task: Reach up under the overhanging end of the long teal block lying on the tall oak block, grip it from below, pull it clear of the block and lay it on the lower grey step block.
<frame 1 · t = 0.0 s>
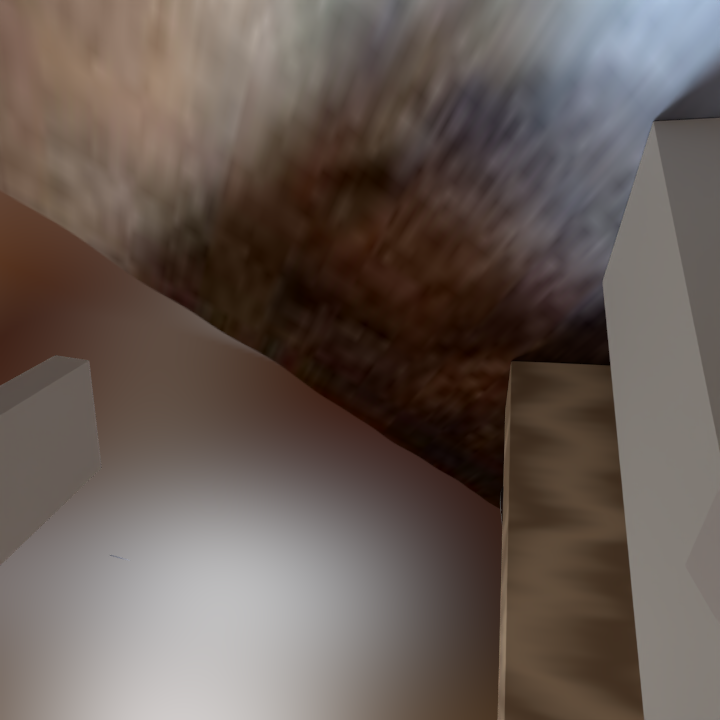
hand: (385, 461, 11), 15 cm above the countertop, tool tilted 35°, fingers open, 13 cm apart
oak block: (614, 393, 36), on the countertop
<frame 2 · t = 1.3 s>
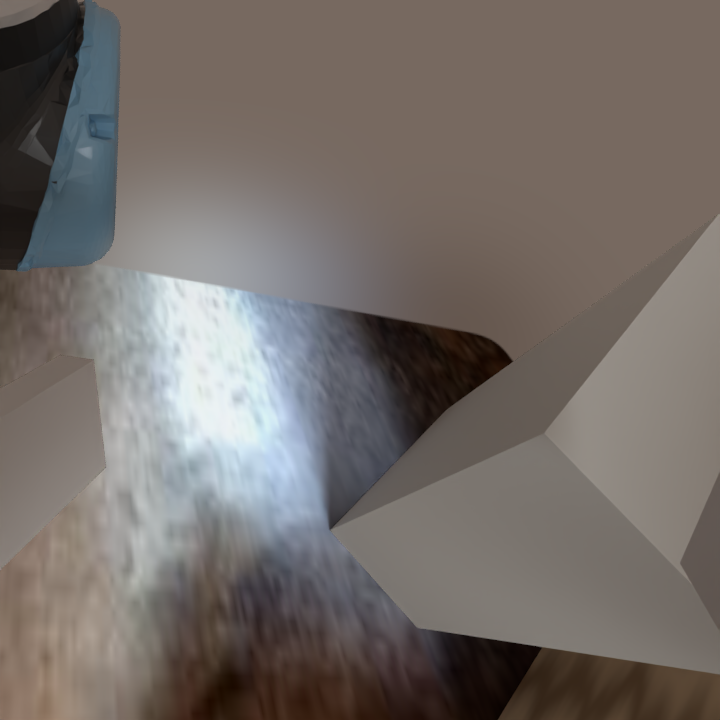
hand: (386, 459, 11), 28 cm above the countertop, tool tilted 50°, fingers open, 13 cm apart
step block: (433, 508, 40), on the countertop
oak block: (557, 719, 37), on the countertop
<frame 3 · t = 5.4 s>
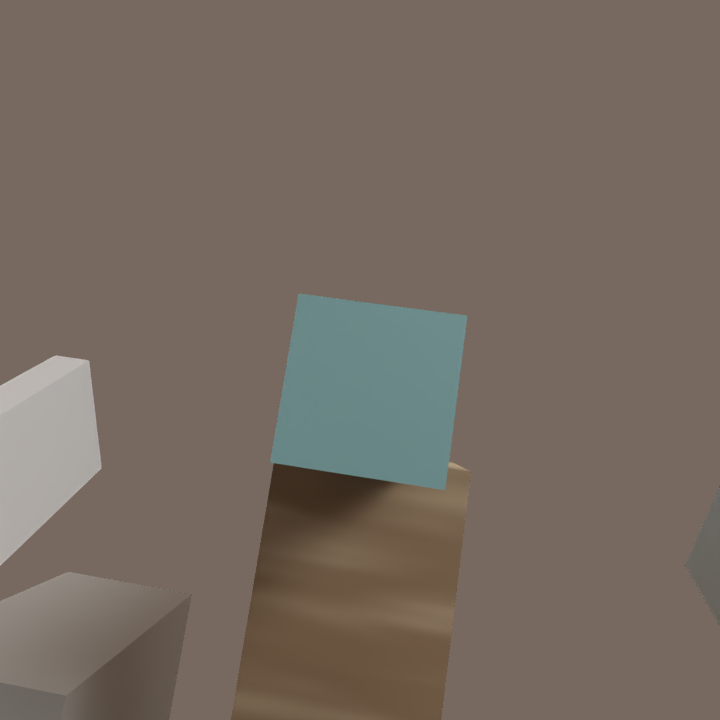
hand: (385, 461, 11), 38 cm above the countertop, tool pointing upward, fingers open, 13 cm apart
teal block: (375, 452, 22), point 38 cm above the countertop, touching oak block
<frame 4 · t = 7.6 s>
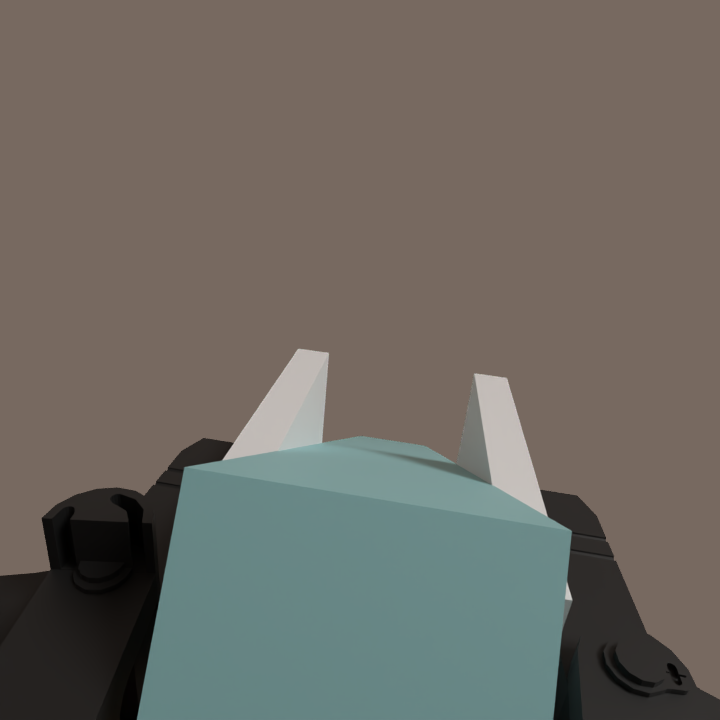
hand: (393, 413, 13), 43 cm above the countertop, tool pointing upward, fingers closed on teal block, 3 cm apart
teal block: (373, 562, 16), point 38 cm above the countertop, touching gripper, oak block
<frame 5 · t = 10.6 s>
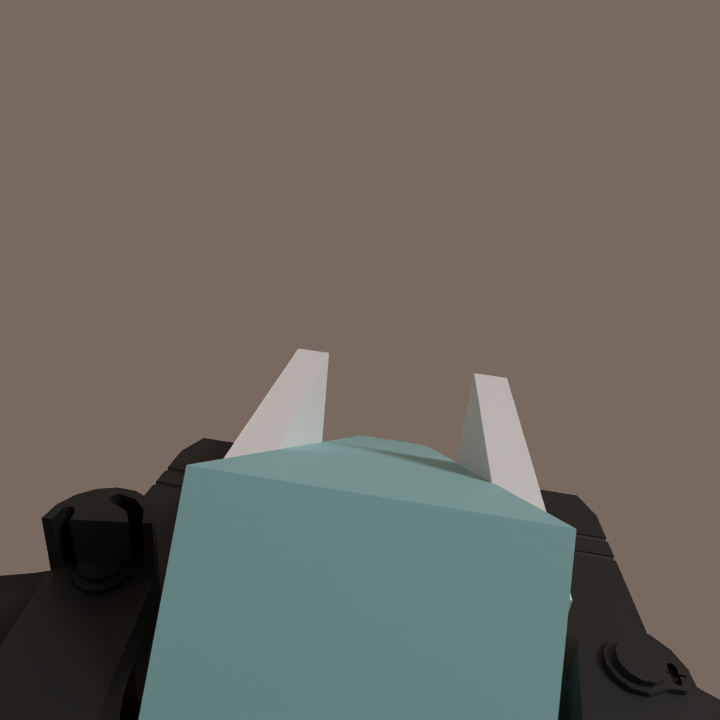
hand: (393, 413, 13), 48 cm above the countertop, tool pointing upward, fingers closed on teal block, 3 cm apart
teal block: (374, 562, 16), point 43 cm above the countertop, touching gripper
when the fingers open (32 cm above the countertop, at t = 13.5 s): teal block drops 2 cm, resting on step block.
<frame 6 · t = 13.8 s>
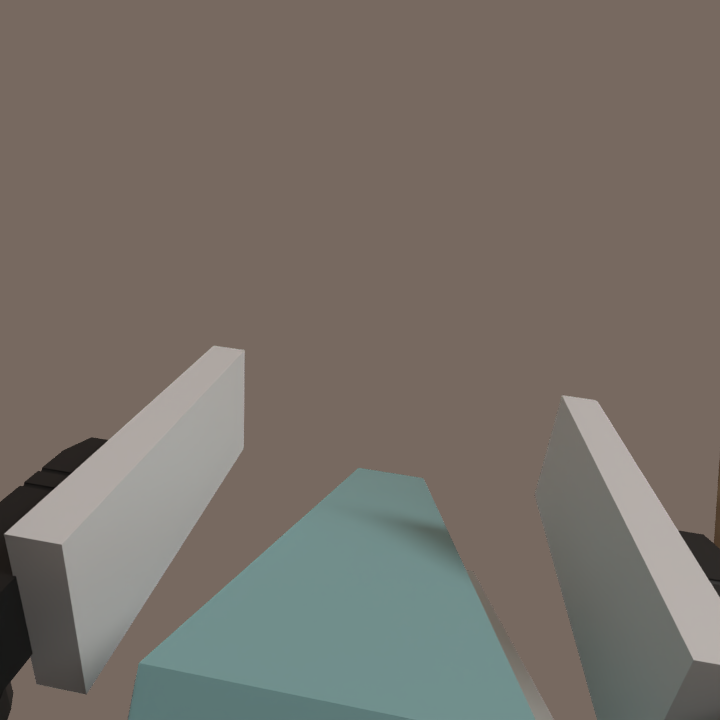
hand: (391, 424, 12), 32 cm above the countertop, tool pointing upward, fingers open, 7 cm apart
teal block: (366, 621, 16), point 26 cm above the countertop, touching step block
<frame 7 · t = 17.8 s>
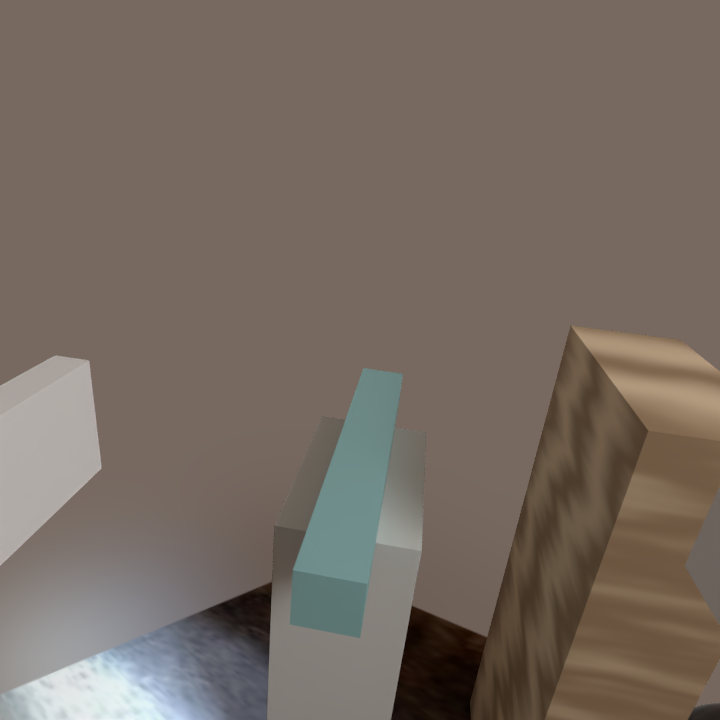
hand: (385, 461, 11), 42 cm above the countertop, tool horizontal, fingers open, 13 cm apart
teal block: (359, 484, 36), point 26 cm above the countertop, touching step block
step block: (335, 707, 48), on the countertop
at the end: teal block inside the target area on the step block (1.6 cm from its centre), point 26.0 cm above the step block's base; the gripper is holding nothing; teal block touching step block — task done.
